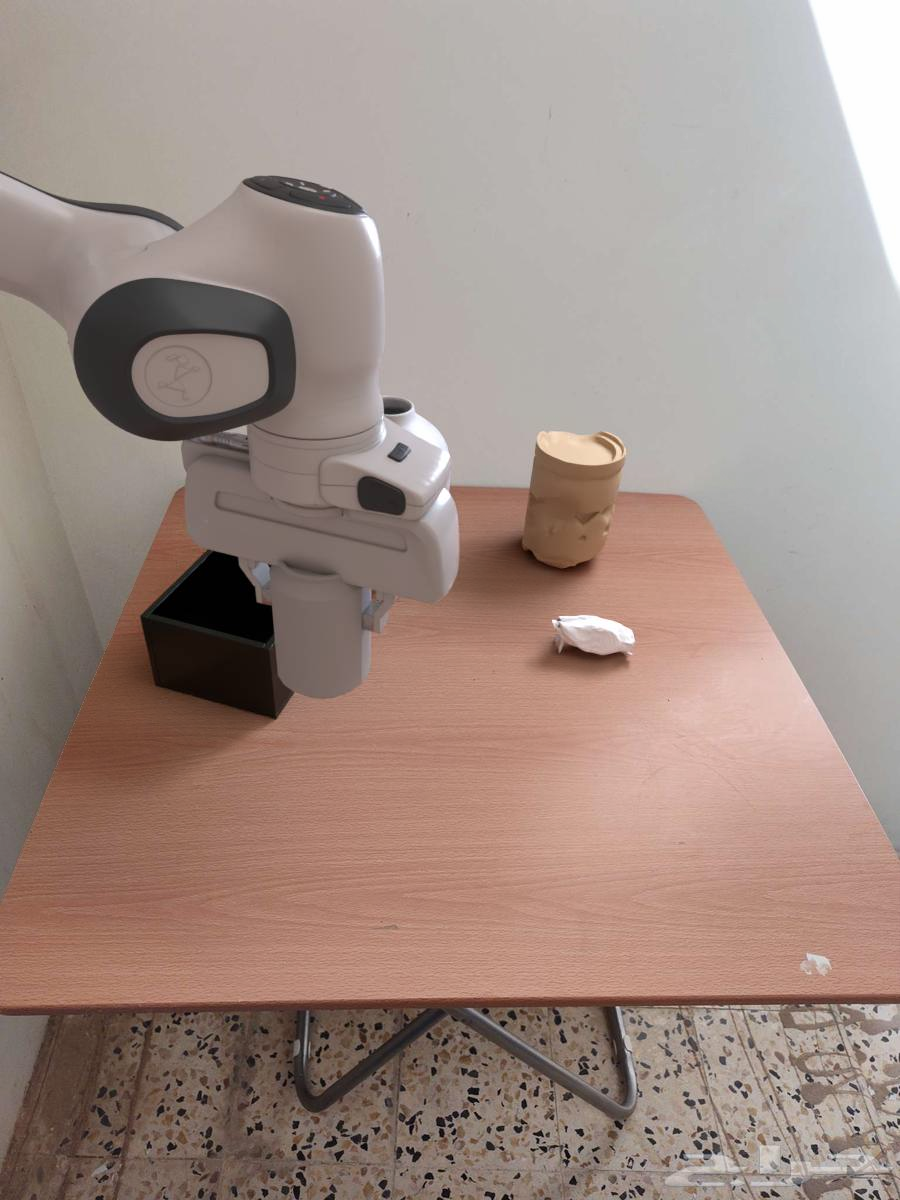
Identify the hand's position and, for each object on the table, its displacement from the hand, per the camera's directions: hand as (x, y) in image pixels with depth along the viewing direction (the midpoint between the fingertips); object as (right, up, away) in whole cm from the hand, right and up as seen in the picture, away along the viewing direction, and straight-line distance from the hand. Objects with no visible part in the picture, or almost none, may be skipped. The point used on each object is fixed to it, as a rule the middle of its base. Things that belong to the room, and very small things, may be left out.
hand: (322, 613), depth 62 cm
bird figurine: (+28, -5, +43) cm, 52 cm away
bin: (-15, -6, +37) cm, 40 cm away
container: (+27, +8, +61) cm, 67 cm away
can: (0, -5, +4) cm, 6 cm away
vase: (+1, +7, +56) cm, 57 cm away
